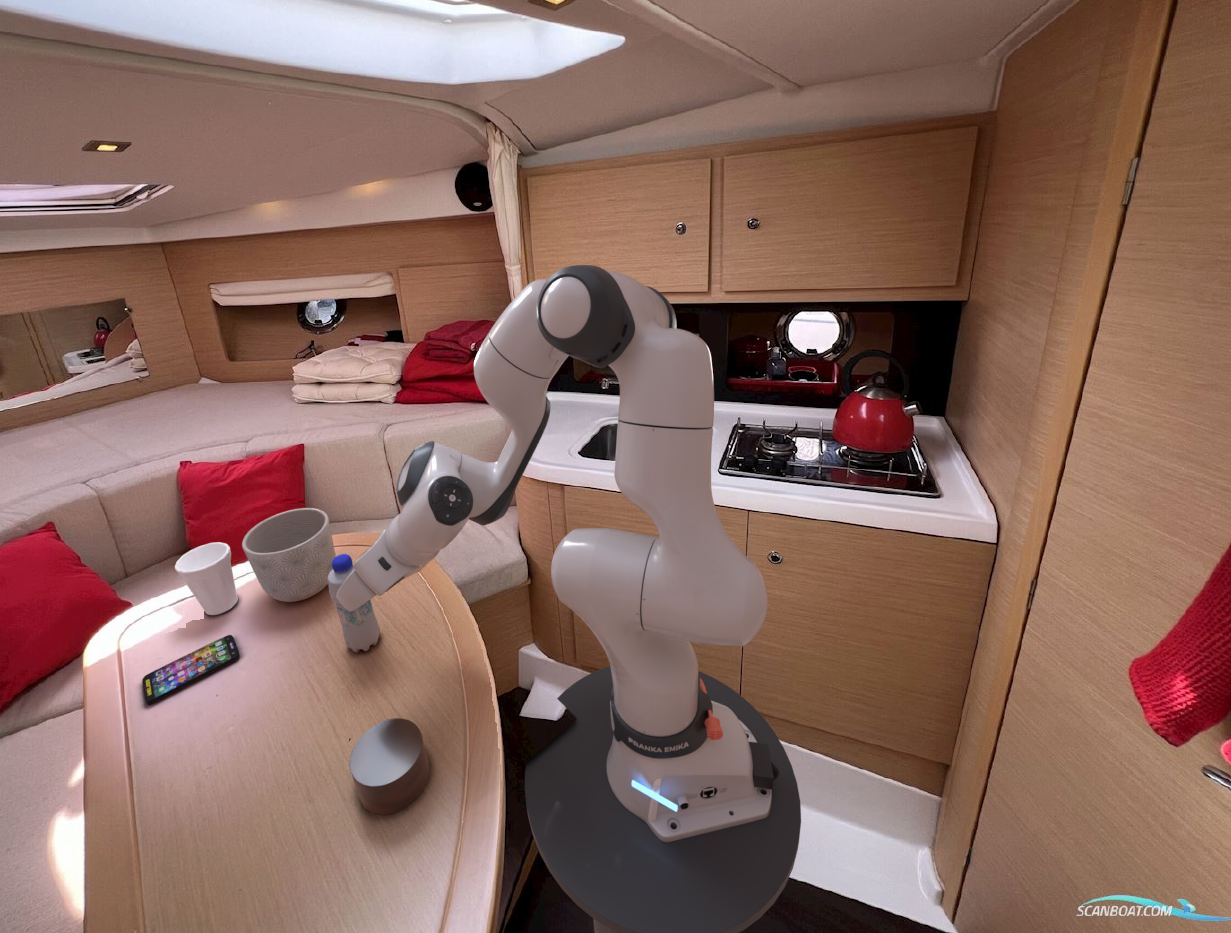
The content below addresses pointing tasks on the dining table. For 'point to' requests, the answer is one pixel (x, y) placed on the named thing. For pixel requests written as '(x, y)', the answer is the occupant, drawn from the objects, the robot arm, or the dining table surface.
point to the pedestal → (389, 766)
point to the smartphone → (189, 669)
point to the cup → (209, 576)
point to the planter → (291, 553)
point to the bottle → (355, 624)
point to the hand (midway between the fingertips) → (377, 577)
